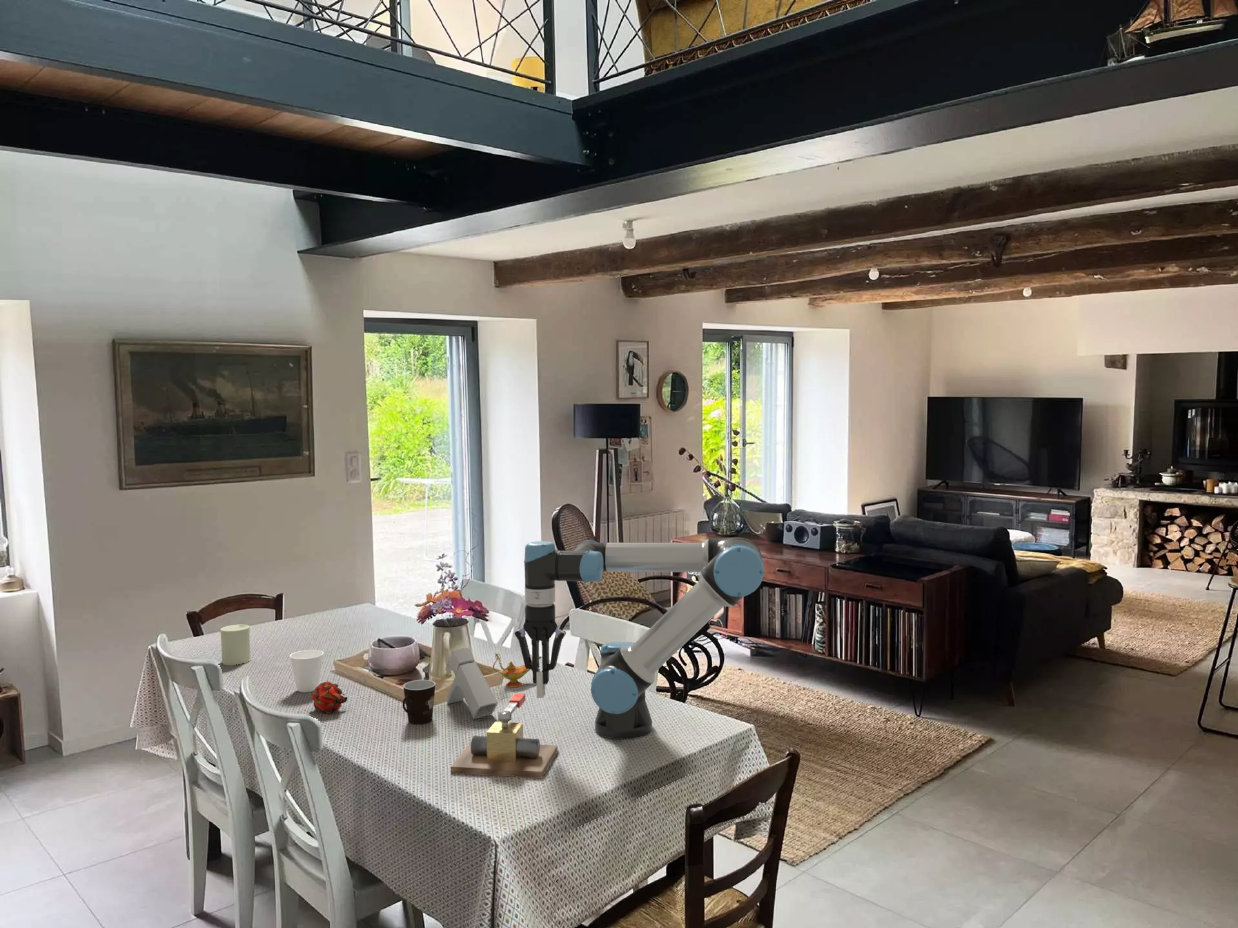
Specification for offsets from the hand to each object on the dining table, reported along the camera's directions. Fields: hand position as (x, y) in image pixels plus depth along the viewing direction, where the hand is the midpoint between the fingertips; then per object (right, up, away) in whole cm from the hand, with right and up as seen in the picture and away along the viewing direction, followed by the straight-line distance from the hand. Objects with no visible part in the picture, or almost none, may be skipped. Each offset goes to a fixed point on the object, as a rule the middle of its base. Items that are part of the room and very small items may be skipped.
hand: (541, 695), depth 229 cm
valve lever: (-7, -3, -3) cm, 8 cm away
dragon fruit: (-62, -12, +29) cm, 70 cm away
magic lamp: (-11, -9, +51) cm, 53 cm away
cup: (-75, -10, +47) cm, 89 cm away
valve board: (-8, -14, -9) cm, 18 cm away
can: (-109, -8, +78) cm, 135 cm away
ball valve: (-8, -12, -9) cm, 17 cm away
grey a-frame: (-22, -11, +28) cm, 37 cm away
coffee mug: (-36, -12, +19) cm, 42 cm away
